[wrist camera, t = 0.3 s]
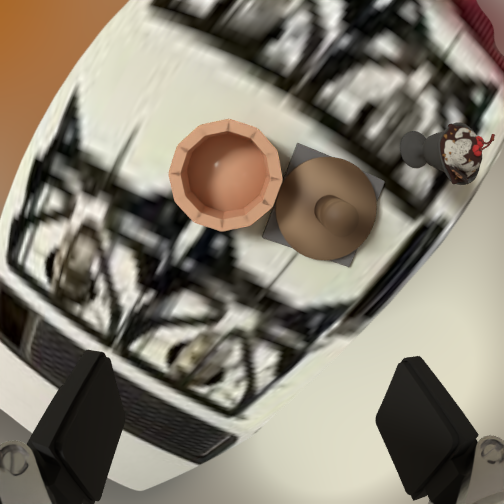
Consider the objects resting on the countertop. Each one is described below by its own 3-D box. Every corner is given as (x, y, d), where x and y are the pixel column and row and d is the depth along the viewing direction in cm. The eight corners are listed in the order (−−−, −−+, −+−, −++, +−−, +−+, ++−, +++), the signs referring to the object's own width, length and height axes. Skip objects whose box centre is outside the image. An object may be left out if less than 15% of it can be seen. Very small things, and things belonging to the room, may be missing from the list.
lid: (297, 140, 33) (308, 139, 27) (386, 180, 35) (411, 187, 29) (260, 238, 37) (264, 256, 31) (349, 268, 38) (366, 289, 33)
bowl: (197, 113, 32) (190, 107, 27) (288, 143, 34) (296, 142, 29) (168, 202, 35) (157, 210, 31) (256, 231, 37) (258, 243, 32)
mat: (297, 143, 34) (298, 143, 33) (382, 180, 35) (384, 181, 35) (262, 236, 37) (262, 237, 37) (347, 265, 39) (348, 267, 38)
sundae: (422, 117, 33) (500, 113, 19) (439, 163, 35) (517, 177, 21) (386, 134, 34) (461, 133, 19) (405, 181, 36) (480, 203, 21)
